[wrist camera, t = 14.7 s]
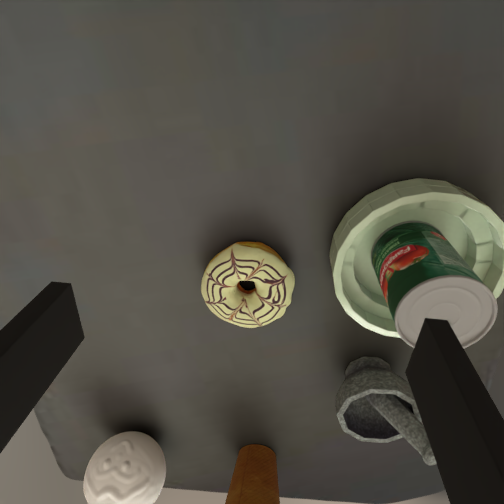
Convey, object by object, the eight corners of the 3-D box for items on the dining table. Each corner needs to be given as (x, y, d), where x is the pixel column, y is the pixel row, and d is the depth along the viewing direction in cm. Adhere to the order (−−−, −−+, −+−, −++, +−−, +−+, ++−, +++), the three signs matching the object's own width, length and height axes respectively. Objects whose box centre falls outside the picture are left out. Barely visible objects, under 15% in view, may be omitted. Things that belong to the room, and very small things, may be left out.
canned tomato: (372, 221, 38) (400, 277, 28) (452, 218, 37) (509, 275, 27) (368, 285, 41) (390, 353, 32) (440, 283, 40) (486, 354, 31)
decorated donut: (309, 259, 42) (310, 277, 38) (269, 323, 47) (267, 344, 43) (226, 223, 40) (220, 237, 37) (195, 292, 45) (187, 311, 42)
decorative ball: (172, 419, 58) (146, 499, 47) (177, 463, 64) (154, 543, 53) (101, 411, 59) (59, 487, 48) (111, 455, 64) (76, 532, 54)
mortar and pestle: (329, 395, 52) (338, 481, 41) (333, 345, 47) (345, 427, 37) (410, 399, 50) (442, 488, 40) (422, 348, 46) (461, 434, 36)
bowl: (345, 168, 36) (352, 183, 32) (514, 186, 35) (546, 203, 31) (318, 301, 44) (320, 327, 40) (455, 318, 43) (474, 347, 39)
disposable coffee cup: (283, 475, 62) (281, 560, 52) (228, 468, 63) (215, 551, 52) (288, 441, 57) (287, 526, 47) (229, 434, 58) (215, 516, 48)
